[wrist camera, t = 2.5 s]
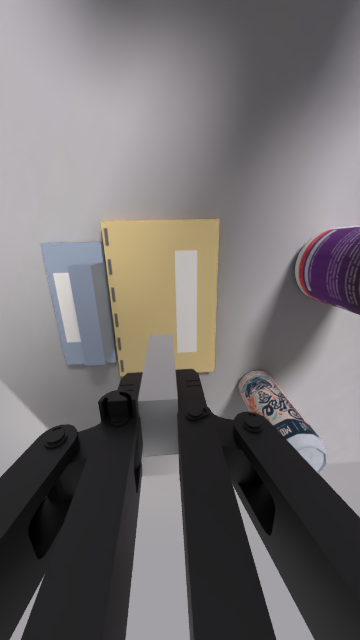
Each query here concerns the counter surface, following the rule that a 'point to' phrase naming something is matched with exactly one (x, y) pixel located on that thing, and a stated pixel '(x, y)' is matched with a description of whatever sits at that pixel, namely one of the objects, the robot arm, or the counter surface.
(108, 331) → the stub
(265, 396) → the beer can
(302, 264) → the pill bottle
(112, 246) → the tan notebook
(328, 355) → the counter surface
